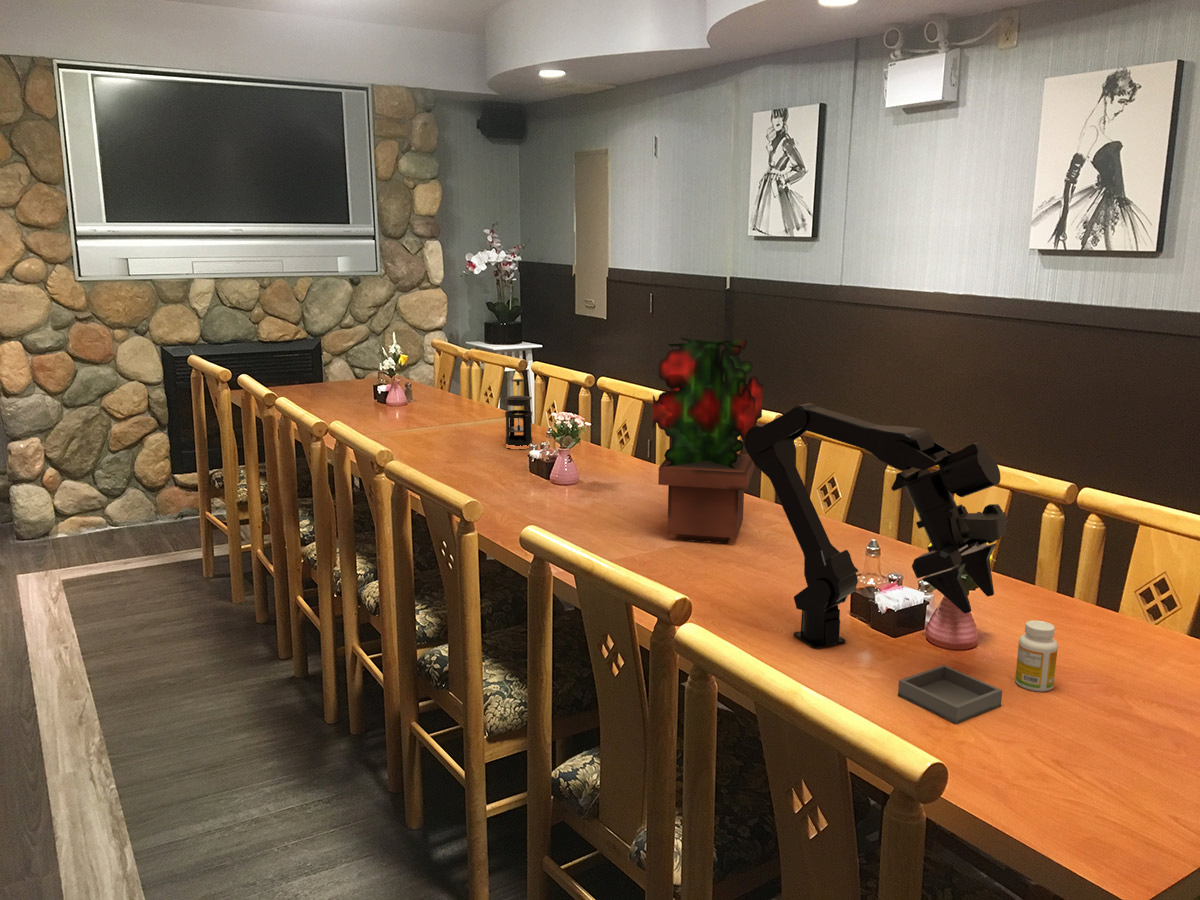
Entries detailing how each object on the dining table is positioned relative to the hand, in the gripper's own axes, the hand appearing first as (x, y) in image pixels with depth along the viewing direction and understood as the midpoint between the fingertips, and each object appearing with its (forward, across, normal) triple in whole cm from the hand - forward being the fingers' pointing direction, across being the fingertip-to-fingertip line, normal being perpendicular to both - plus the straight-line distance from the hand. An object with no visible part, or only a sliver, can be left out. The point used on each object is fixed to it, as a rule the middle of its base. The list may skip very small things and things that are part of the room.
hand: (979, 603), depth 141 cm
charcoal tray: (+11, -7, +7) cm, 15 cm away
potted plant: (-26, +37, +73) cm, 86 cm away
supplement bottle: (+15, +7, +1) cm, 17 cm away
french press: (-78, +76, +163) cm, 196 cm away
